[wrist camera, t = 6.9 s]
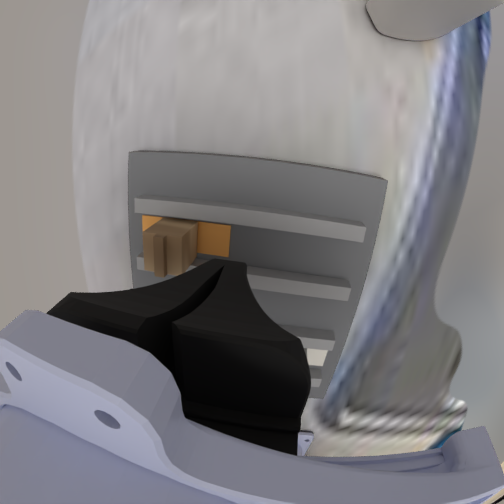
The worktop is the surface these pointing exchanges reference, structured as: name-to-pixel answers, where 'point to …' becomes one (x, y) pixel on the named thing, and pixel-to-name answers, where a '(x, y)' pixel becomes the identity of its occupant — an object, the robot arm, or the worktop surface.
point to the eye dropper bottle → (424, 16)
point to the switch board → (269, 235)
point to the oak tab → (170, 246)
